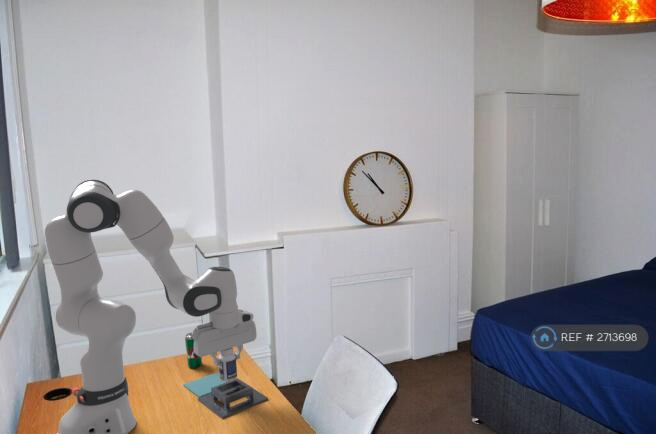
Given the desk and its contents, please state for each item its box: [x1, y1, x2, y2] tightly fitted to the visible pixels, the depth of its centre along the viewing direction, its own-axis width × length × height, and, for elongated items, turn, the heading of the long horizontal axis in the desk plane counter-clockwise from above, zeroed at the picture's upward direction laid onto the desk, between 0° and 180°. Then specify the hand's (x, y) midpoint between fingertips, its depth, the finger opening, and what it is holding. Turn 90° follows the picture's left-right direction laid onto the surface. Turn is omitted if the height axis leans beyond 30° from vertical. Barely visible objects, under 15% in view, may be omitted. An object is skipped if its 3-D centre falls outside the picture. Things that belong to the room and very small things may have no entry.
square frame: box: [197, 377, 269, 420], centre depth 168 cm, size 16×16×4 cm
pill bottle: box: [217, 347, 238, 381], centre depth 167 cm, size 5×5×10 cm
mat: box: [182, 372, 229, 398], centre depth 179 cm, size 12×12×1 cm
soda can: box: [184, 331, 203, 369], centre depth 195 cm, size 5×5×12 cm
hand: (227, 361), depth 167 cm, fingers closed on pill bottle, 5 cm apart
